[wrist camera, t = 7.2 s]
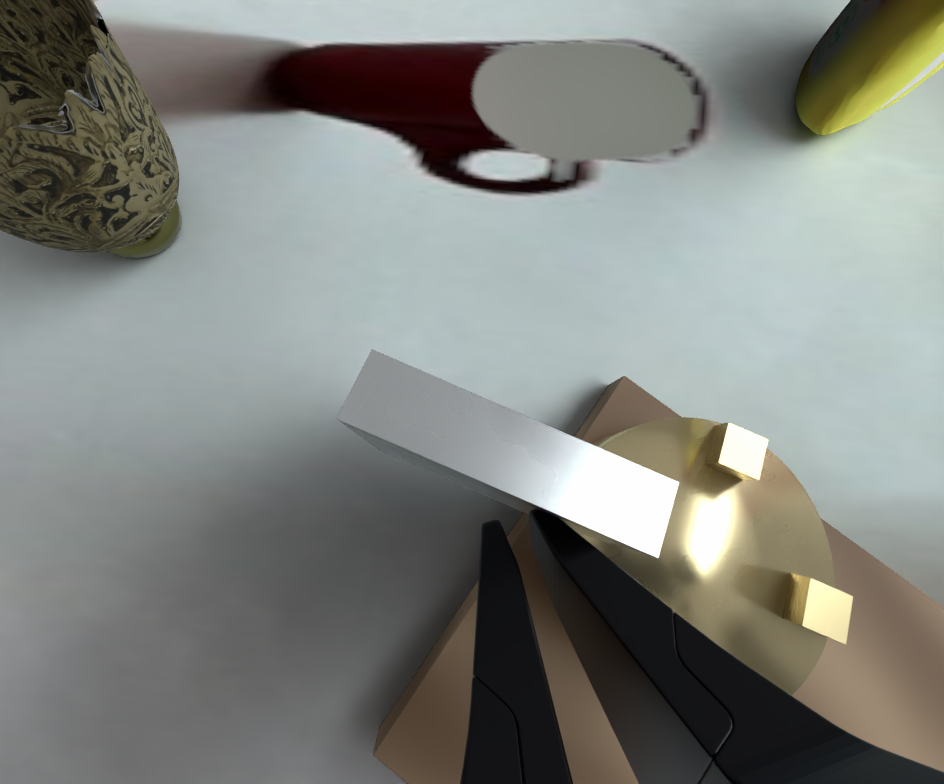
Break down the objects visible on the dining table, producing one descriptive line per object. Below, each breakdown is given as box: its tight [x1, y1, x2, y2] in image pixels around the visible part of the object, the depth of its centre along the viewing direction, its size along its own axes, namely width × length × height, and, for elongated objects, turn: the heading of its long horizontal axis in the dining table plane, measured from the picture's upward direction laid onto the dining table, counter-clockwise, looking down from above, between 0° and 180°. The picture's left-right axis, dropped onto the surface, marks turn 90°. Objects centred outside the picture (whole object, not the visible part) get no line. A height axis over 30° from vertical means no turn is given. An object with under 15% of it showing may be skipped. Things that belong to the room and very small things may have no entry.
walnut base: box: [373, 376, 944, 784], centre depth 15 cm, size 16×19×2 cm
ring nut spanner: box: [336, 349, 853, 696], centre depth 12 cm, size 16×9×7 cm, turn 67°
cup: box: [0, 0, 181, 258], centre depth 14 cm, size 8×7×8 cm
